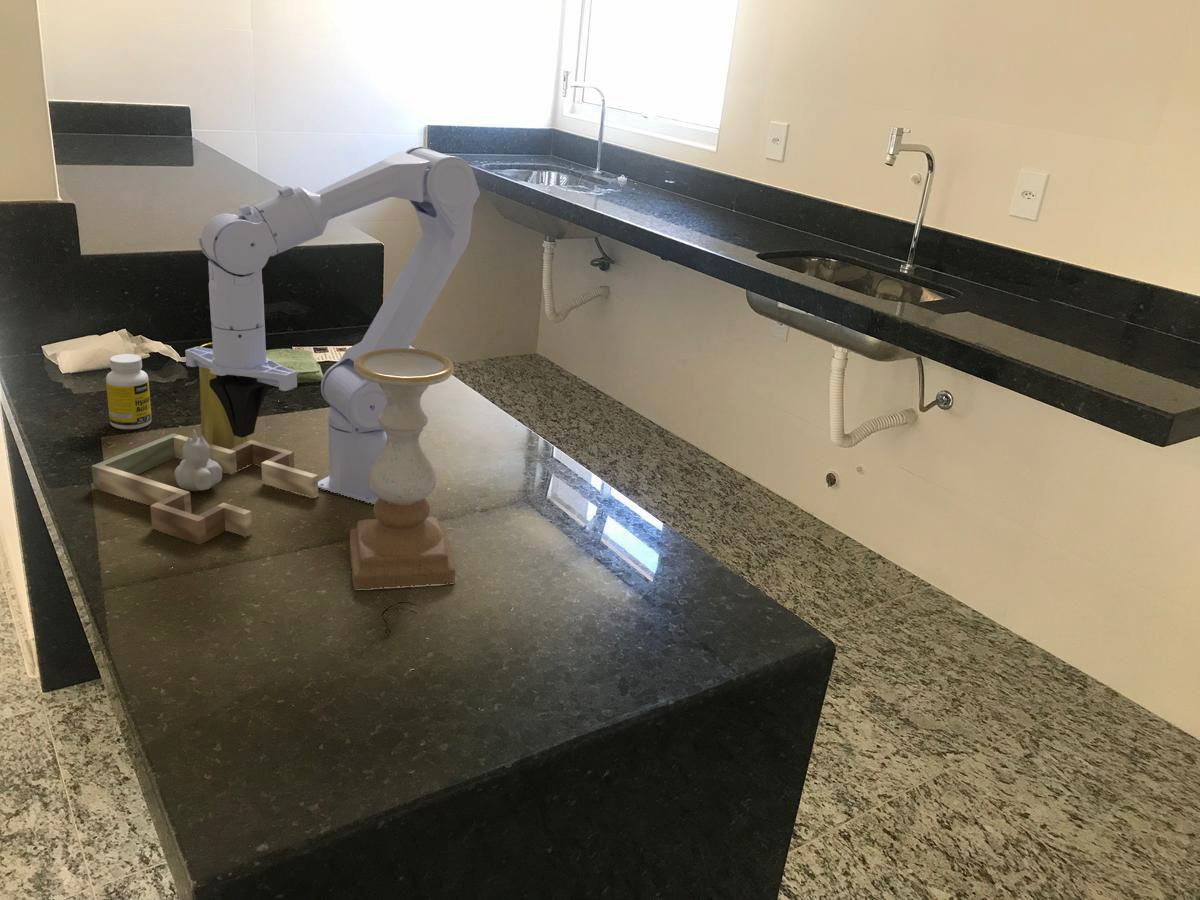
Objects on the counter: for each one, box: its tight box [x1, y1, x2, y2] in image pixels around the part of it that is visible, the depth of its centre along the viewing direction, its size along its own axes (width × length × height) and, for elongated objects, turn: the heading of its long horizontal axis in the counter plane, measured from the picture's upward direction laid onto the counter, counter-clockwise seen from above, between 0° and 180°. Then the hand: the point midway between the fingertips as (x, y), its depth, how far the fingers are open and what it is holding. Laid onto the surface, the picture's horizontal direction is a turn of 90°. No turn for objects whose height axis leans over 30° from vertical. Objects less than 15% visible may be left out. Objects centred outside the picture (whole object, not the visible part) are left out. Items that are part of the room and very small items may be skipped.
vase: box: [198, 342, 249, 449], centre depth 132 cm, size 6×6×14 cm
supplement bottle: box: [105, 353, 153, 430], centre depth 137 cm, size 5×5×10 cm
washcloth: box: [266, 348, 324, 384], centre depth 162 cm, size 13×18×3 cm
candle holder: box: [349, 347, 456, 589], centre depth 105 cm, size 11×11×24 cm
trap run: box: [91, 432, 319, 546], centre depth 121 cm, size 24×21×3 cm
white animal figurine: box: [173, 429, 223, 492], centre depth 120 cm, size 5×7×8 cm
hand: (244, 434), depth 116 cm, fingers closed
